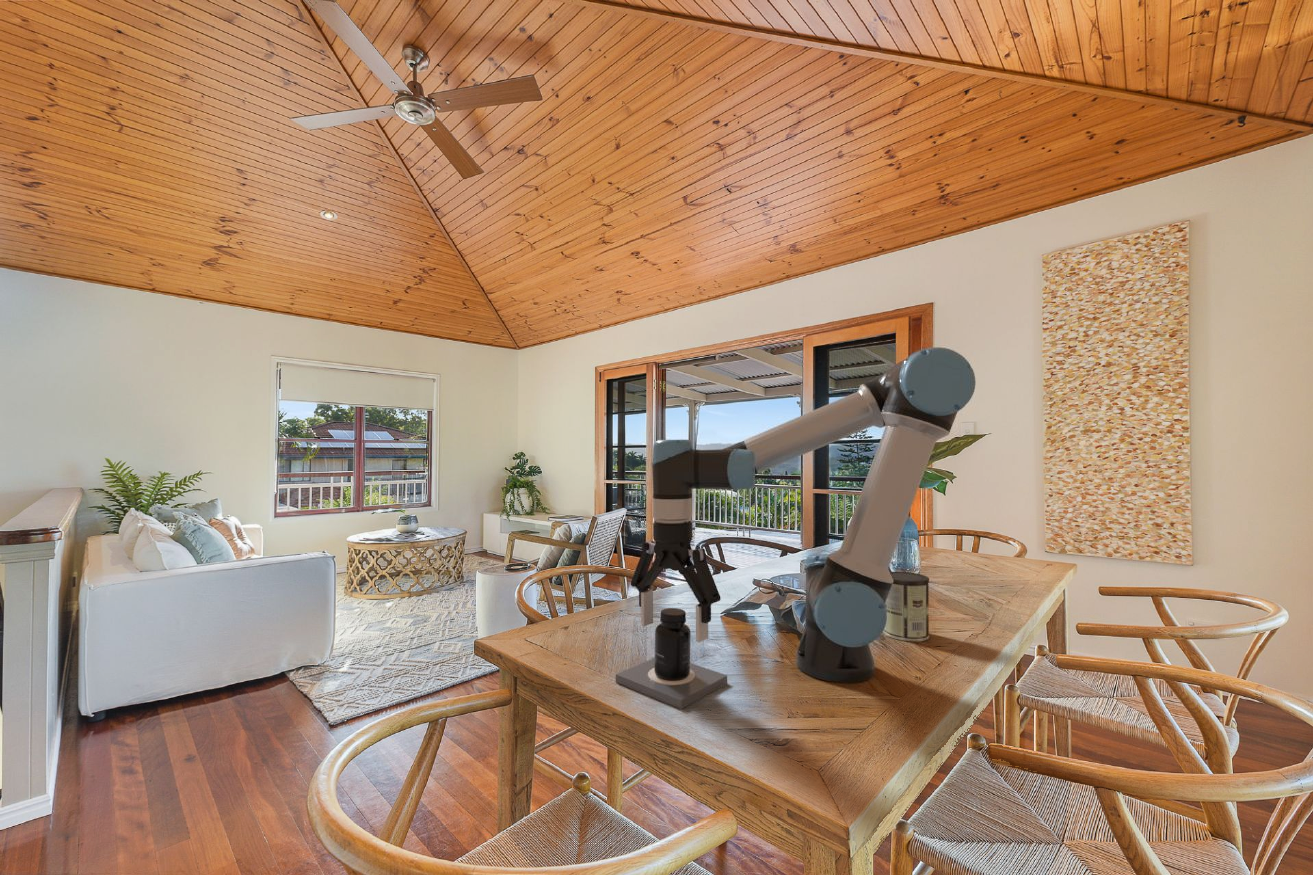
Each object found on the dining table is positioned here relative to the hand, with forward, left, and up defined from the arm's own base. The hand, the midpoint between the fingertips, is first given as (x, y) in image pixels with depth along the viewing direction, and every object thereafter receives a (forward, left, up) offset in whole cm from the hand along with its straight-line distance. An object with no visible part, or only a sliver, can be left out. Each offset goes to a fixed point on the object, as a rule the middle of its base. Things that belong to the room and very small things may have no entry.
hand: (673, 631), depth 107 cm
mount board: (0, 0, -10) cm, 10 cm away
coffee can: (-24, -59, -10) cm, 64 cm away
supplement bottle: (0, 0, -8) cm, 8 cm away
